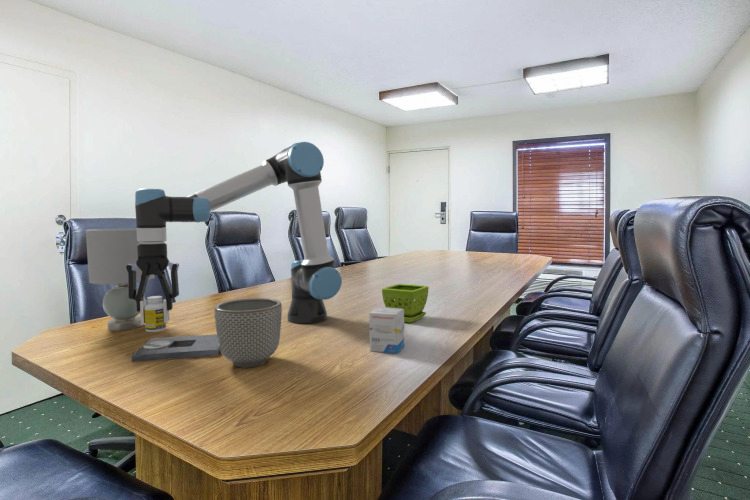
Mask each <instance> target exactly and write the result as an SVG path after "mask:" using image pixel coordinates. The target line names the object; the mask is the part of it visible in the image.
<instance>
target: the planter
mask: <svg viewBox="0 0 750 500" xmlns="http://www.w3.org/2000/svg"><path fill="white" fill-rule="evenodd" d="M282 308H283V307H282V302H281V301H280V300H278V299H275V298H269V297H264V298H263V297H250V298H249V297H248V298H239V299H232V300H226V301H223V302H220V303H218V304H216V305H215V306H214V309H213V310H214V314H213V315H214V321H215V330H216V334H217V338H218V344H219V348H220V351H219V352H220V353H221V355H222V356H223V357H224V358H226V359H227V360H229V361H231V362H232V363H233V365H234V366H236V367H238V368H245V369H246V368H253V367H258V366H261V365H264V364H265V363H266V362H267V361H268V359H269V358H270V357H271V356H272V355H273V354H275V352H276V351H277V349H278V347H279V344H280V338H281V329H282Z"/></svg>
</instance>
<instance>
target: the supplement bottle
mask: <svg viewBox="0 0 750 500" xmlns="http://www.w3.org/2000/svg"><path fill="white" fill-rule="evenodd" d="M144 313H145V323H144V326H145V327H144V329H145V332H146V333H147V332H148V333H157V332H162V331H164V330H166V328H167V322H164V310H163V296H162V295H152V296H151V295H150V296H147V297H146V306H145V307H144Z"/></svg>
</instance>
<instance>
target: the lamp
mask: <svg viewBox="0 0 750 500" xmlns="http://www.w3.org/2000/svg"><path fill="white" fill-rule="evenodd" d="M85 238H86V239H85V240H86V242H85V243H86V252H87V253H86V254H87V267H88V271H87V272H88V282H89V284H92V285H113V287H112V288H110V289H108V291H107V292H106V293H105V294H104V297H103V299H102V308H103V311H104V312H105V313H106V315H107V316H108V317H109V318H110V319H109V320H107V322H106V324H107V330H108V331H113V332H121V331H130V330H135V329H138V328H141V327H143V325H144V324H141V313H140V312H137V304H136V300H134V299H129V283H128V271H127V269H126V266H127V265H130V264H134V263H136V262H137V260H138V252H137V245H138V244H139V242H138V241H137V228H102V229H101V228H98V229H96V228H95V229H86V230H85ZM141 275H142V271H141V270H140V268H139V267H138V266H137V270H136V283H140V281H141ZM155 276H156V275H153V274H152V275H150V276H149V278H148V281H151V280H153V279H155V278H156V277H155ZM138 288H139V287H137V286H136V295H137V292H138ZM144 299H146V298H145V296H144V298H143V300H144ZM139 314H140V315H139Z"/></svg>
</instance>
